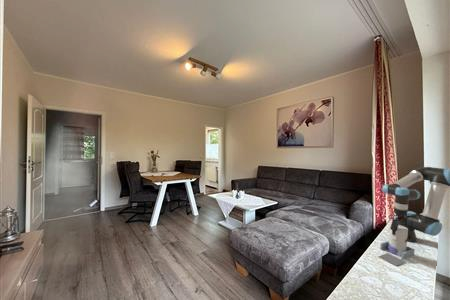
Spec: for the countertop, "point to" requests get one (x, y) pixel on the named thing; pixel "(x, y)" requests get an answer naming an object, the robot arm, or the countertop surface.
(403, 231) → the container
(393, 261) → the mat
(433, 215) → the robot arm
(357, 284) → the countertop surface
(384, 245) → the cradle
